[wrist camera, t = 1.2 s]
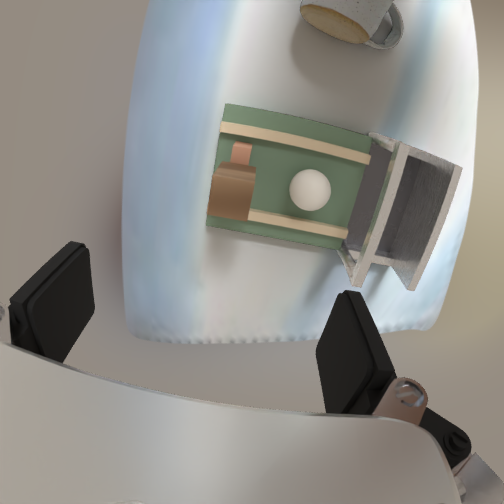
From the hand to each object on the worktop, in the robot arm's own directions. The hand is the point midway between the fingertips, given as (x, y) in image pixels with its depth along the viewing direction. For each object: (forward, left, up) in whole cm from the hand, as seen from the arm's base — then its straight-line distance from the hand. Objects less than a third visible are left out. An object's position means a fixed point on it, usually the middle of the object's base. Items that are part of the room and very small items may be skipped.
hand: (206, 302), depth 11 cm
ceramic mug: (-20, +8, -24) cm, 32 cm away
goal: (0, +16, -23) cm, 28 cm away
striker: (0, 0, -21) cm, 21 cm away
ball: (0, +7, -20) cm, 21 cm away
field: (0, +5, -23) cm, 24 cm away
